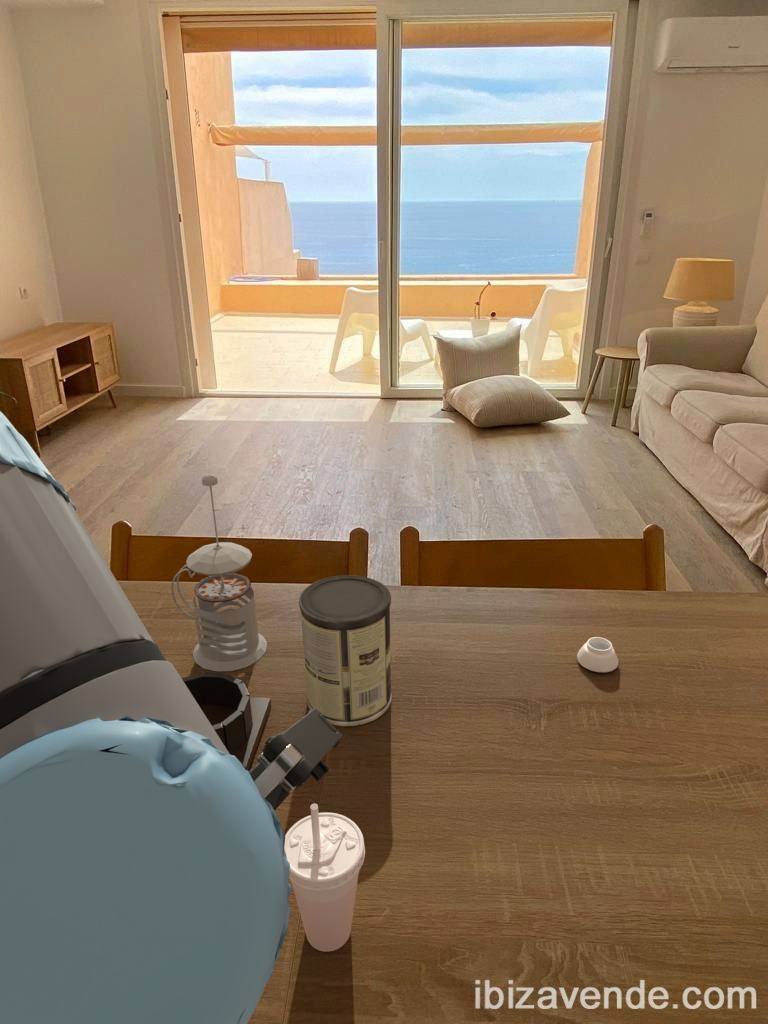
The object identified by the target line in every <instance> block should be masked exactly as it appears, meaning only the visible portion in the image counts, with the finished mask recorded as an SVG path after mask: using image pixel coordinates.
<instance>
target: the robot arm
mask: <svg viewBox="0 0 768 1024" xmlns="http://www.w3.org/2000/svg"><path fill="white" fill-rule="evenodd" d="M182 678H183V677H181V675H180V674H179V672H178V671H177V669H176V667H175V665H174V664H173V662H170V661H169V660H167V659H166V658H165V656H164V654H163V653H162V651H161V649H160V648H159V645H158V644H156V643H155V642H154V640H153V638H152V636H151V635H150V633H149V632H148V630H147V628H146V626H145V625H144V623H143V622H142V620H141V618H140V616H139V615H138V614H137V612H136V610H135V608H134V607H133V605H132V603H131V602H130V600H129V599H128V597H127V595H126V593H125V591H124V590H123V589H122V587H121V585H120V584H119V582H118V580H117V579H116V578H115V576H114V574H113V572H112V571H111V569H110V567H109V566H108V564H107V563H106V560H105V559H104V557H103V555H102V554H101V552H100V551H99V549H98V547H97V546H96V544H95V542H94V540H93V539H92V537H91V535H90V533H89V532H88V529H87V528H86V527H85V525H84V524H83V521H82V519H81V518H80V516H79V514H78V513H77V507H76V505H75V504H74V503H73V500H72V499H71V498H70V496H69V495H68V493H66V490H65V488H64V486H63V485H62V484H61V482H59V481H58V480H57V479H55V478H54V476H53V475H52V473H51V472H50V471H49V470H48V468H47V466H45V464H44V463H43V461H42V460H41V458H40V457H39V456H38V454H37V453H36V452H35V450H34V449H33V447H32V446H31V445H30V443H29V442H28V440H27V439H26V438H25V437H24V436H23V435H22V434H21V433H20V432H19V431H18V430H17V429H16V428H15V426H14V425H13V424H12V423H11V421H10V420H9V419H8V418H7V416H6V415H5V414H4V413H3V412H2V411H0V1024H248V1023H249V1021H250V1020H251V1018H252V1016H253V1014H254V1012H255V1010H256V1009H257V1006H258V1004H259V1002H260V1000H261V997H262V995H263V993H264V991H265V988H266V985H267V984H268V983H269V982H270V979H271V976H272V974H273V970H274V968H275V965H276V962H277V960H278V958H279V955H280V953H281V950H282V948H283V944H284V942H285V938H286V935H287V932H288V926H289V920H290V915H291V910H292V909H291V906H290V904H289V901H288V899H289V898H290V896H291V894H292V891H293V889H292V886H291V882H290V879H289V869H290V863H289V862H288V860H287V857H286V853H285V849H284V846H285V838H286V837H285V835H286V834H285V832H284V830H283V826H282V824H281V821H280V819H279V817H278V814H277V813H276V810H277V809H278V808H279V807H280V806H281V804H282V803H283V802H284V801H286V799H287V798H288V797H289V796H290V795H291V794H292V792H293V791H297V790H298V789H299V788H300V787H301V786H302V785H304V784H305V783H306V782H307V781H308V779H310V778H313V780H314V781H315V782H317V783H318V782H319V781H320V780H321V779H323V777H324V776H325V775H326V774H327V773H328V772H329V771H330V770H331V768H330V767H329V766H328V765H327V764H326V763H325V761H324V760H323V759H324V758H325V757H326V756H327V754H328V753H329V752H330V751H331V750H332V749H336V748H337V747H338V746H339V745H340V744H341V741H342V740H343V734H342V733H341V732H340V731H339V730H338V729H336V727H335V725H333V724H331V723H330V722H329V721H328V720H327V719H326V718H325V717H324V716H323V715H322V714H321V713H320V712H319V711H318V710H317V709H316V708H314V709H312V710H311V711H310V709H309V710H308V711H307V712H306V713H305V714H304V715H303V717H302V718H300V719H299V720H297V721H296V722H295V723H294V724H292V725H291V726H290V727H288V728H287V729H285V730H284V731H283V732H278V733H277V734H276V735H271V736H270V737H269V738H268V739H267V740H266V741H265V743H264V744H265V745H264V747H263V749H262V750H261V753H260V754H259V755H258V756H257V757H256V760H257V761H258V763H257V764H256V765H254V767H252V768H251V769H249V771H248V770H247V769H246V768H245V767H244V766H243V765H242V763H241V762H240V761H239V760H238V759H237V758H236V757H235V756H234V755H230V754H229V752H228V750H227V749H226V747H225V746H224V744H223V743H222V741H221V739H220V738H219V736H218V735H217V733H216V732H215V730H214V729H213V727H212V725H211V724H210V722H209V721H208V719H207V718H206V716H205V714H204V713H203V711H202V710H201V708H200V707H199V705H198V703H197V702H196V700H195V699H194V697H193V696H192V694H191V692H190V691H189V689H188V688H187V686H186V685H185V683H184V682H183V680H182Z"/></svg>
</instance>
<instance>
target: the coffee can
mask: <svg viewBox="0 0 768 1024" xmlns="http://www.w3.org/2000/svg"><path fill="white" fill-rule="evenodd" d="M391 604H392V595H391V592H390V590H389V588H388V587H387V586H386V585H385V584H383V582H380V581H379V580H376V579H374V578H371V577H367V576H362V575H353V574H346V575H335V576H329V577H325V578H322V579H319V580H316V581H315V582H313V583H311V584H309V585H308V586H307V587H305V588H304V589H303V590H302V592H301V593H300V595H299V598H298V605H299V610H300V618H301V619H300V620H301V631H302V644H303V645H302V646H303V656H304V670H305V683H306V704H307V707H308V709H309V710H310V711H311V710H312V709H314V708H316V709H317V710H318V711H319V712H320V713H321V714H322V715H323V716H324V717H325V718H326V719H327V720H328V721H329V722H330V723H331V724H332V725H333V726H338V727H358V726H362V725H366V724H368V723H372V722H373V721H376V720H377V719H378V718H380V717H381V716H383V715H384V714H385V713H386V712H387V710H388V709H389V707H390V706H391V703H392V701H393V700H392V699H393V694H392V676H391V675H392V672H391V671H392V670H391V668H392V667H391V662H392V661H391Z"/></svg>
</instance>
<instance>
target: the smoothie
mask: <svg viewBox="0 0 768 1024" xmlns="http://www.w3.org/2000/svg"><path fill="white" fill-rule="evenodd" d="M318 805H319V804H317V803H311V805H310V807H309V808H310V815H306V816H305V817H303V818H301V819H299V820H298V821H296V822H295V823H294V824H293V825H292V826H291V827H290V828H289V829H288V830H287V832H286V834H284V835H285V837H286V838H285V846H284V849H285V853H286V857H287V860H288V862H289V863H290V869H289V881H290V885H291V888H292V891H293V894H294V898H295V900H296V904H297V908H298V912H299V915H300V919H301V922H302V926H303V929H304V933H305V937H306V939H307V942H308V943H309V945H310V946H311V947H312V948H314V949H315V950H317V951H320V952H324V953H325V952H327V953H329V952H334V951H337V950H339V949H340V948H342V947H343V946H344V945H345V944H346V943H347V941H348V940H349V938H350V936H351V934H352V933H351V932H352V925H353V918H354V910H355V903H356V895H357V886H358V880H359V874H360V870H361V869H362V866H363V864H364V861H365V856H366V848H365V847H366V846H365V839H364V835H363V833H362V831H361V829H360V828H359V826H358V825H357V824H356V823H355V822H354V820H351V818H349V817H347V816H345V815H343V814H339V813H336V812H319V806H318Z"/></svg>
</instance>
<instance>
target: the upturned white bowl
mask: <svg viewBox="0 0 768 1024" xmlns="http://www.w3.org/2000/svg"><path fill="white" fill-rule="evenodd" d="M576 659H577V662H578V663H579V664H580V666H582V667H583V668H585V669H586V670H589V671H591V672H596V673H609V672H613V671H614V670H616V669H617V668H618V666H619V658H618V656H617V654H616V651H615V648H614V647H613V644H612V642H611V641H610V640H608V639H607V638H604V637H600V636H593V637H589V638H588V640H586V642H585V643H584V644H583V645H582V646H581V648H580V649H579V650H578V652H577V654H576Z"/></svg>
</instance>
